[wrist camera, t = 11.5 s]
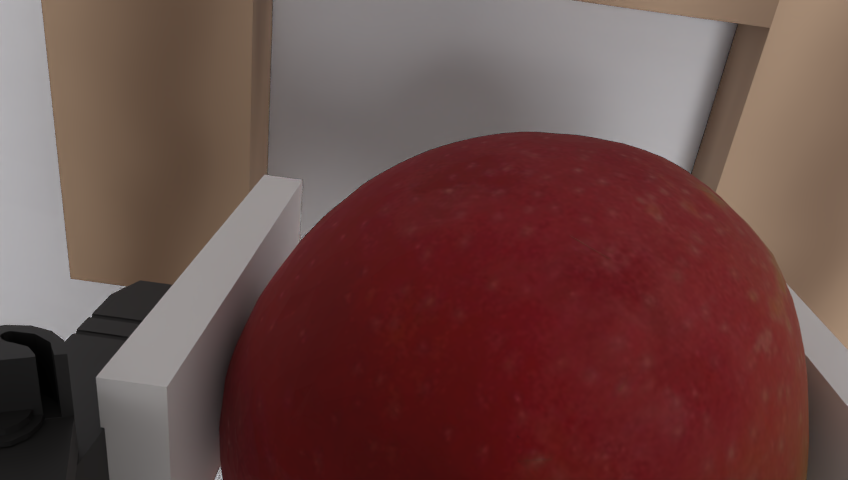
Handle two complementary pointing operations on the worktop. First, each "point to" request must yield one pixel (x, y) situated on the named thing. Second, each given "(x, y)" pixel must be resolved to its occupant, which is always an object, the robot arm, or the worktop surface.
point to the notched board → (249, 127)
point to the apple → (522, 329)
